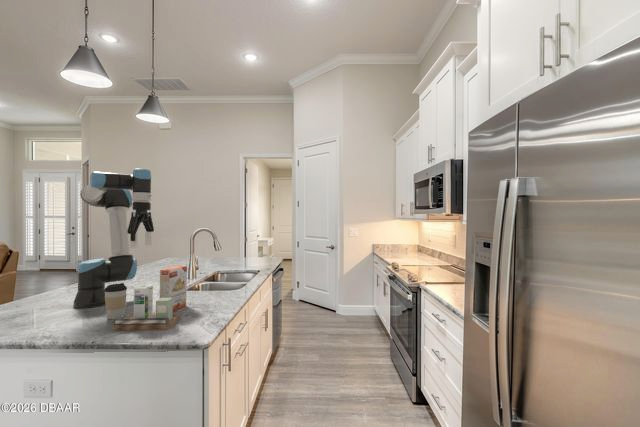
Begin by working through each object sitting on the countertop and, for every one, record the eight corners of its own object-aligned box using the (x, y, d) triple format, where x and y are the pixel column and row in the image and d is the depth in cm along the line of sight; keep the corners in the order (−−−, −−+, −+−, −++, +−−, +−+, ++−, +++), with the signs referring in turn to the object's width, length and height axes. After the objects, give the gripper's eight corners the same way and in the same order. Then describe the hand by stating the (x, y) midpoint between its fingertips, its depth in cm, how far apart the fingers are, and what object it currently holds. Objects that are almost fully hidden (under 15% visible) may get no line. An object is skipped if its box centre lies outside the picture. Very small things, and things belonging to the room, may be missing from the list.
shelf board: (112, 330, 133) (112, 319, 133) (131, 319, 147) (131, 309, 147) (167, 329, 134) (167, 318, 134) (180, 318, 148) (180, 308, 148)
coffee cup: (110, 321, 145) (110, 287, 145) (100, 317, 149) (100, 284, 149) (130, 315, 152) (131, 283, 152) (120, 312, 157) (121, 281, 157)
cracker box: (169, 313, 156) (170, 270, 156) (158, 313, 157) (158, 269, 157) (187, 305, 169) (187, 265, 169) (176, 305, 170) (177, 265, 170)
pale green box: (155, 322, 138) (155, 300, 138) (160, 318, 143) (160, 297, 143) (167, 322, 138) (167, 300, 138) (172, 318, 143) (172, 297, 143)
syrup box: (132, 322, 137) (133, 288, 137) (139, 318, 143) (139, 285, 143) (147, 322, 137) (147, 287, 137) (153, 317, 143) (153, 284, 143)
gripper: (136, 201, 142) (135, 249, 142) (161, 202, 167) (160, 243, 167) (118, 200, 141) (118, 249, 141) (146, 202, 166) (145, 243, 166)
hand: (141, 246), depth 154 cm, fingers open, 13 cm apart
